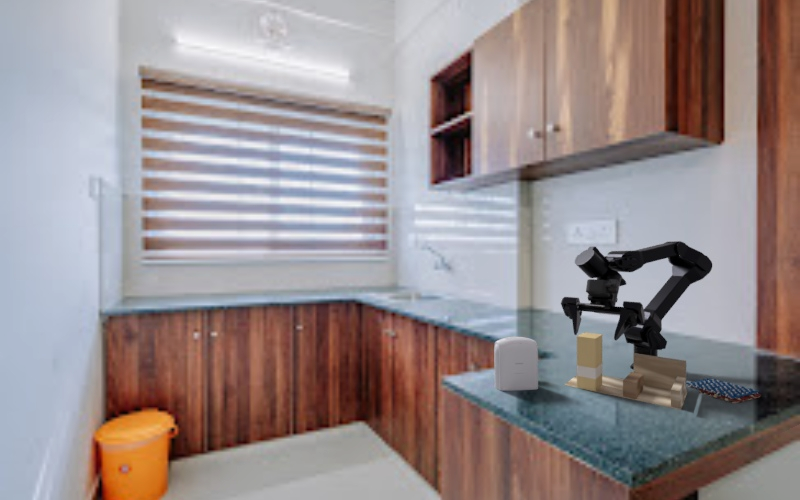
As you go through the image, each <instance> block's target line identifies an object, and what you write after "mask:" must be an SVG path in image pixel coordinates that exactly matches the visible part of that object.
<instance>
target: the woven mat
mask: <svg viewBox="0 0 800 500" xmlns="http://www.w3.org/2000/svg"><path fill="white" fill-rule="evenodd" d="M686 385H687V387H688V388H694V389H695V390H699V392H698V393H699V394H703V395H705V396H706V395H707V397H713V398H715V399H720V400H723V401H724V402H731V403H732V404H737V403H743V402H746V401H750V400H755V399H758V398H760V397H761V396H762V394H760V392H759V390H755V389H753V388H749V387H745V386H740V385H739V384H733V383H731V382H726V381H723V380H719V379H716V378H712V379H711V378H707V379H706V378H703V380H702V379H699V380H694V381H690V382H686Z"/></svg>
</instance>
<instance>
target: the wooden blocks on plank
mask: <svg viewBox="0 0 800 500" xmlns="http://www.w3.org/2000/svg"><path fill="white" fill-rule="evenodd" d="M633 363H634V368H633V371H630V372H629V374H628V375H627V376H626V377H625V378H619V377H614V376H607V375H604V374H602V386H601V387H600V388H598V389H597V390H596V391H594V392H596V393H600V394H605V395H610V396H615V397H619V398H623V399H629V400H633V401H638V402H642V403H647V404H653V405H656V406H661V407H666V408H671V409H675V410H681V411H682V408H683V406H684V403H685V400H686V397H687V395H688V390H687V384H686V383H687V360H684V359H677V358H671V357H663V356H658V357H657V356H650V355H643V354H637V353H635V354H634V353H633ZM563 386H568V387H573V388H575V389H576V388H577V374H576V375H575V376H574V377H572V378H571V379H569V380H568V381H567V382H566V383H564V384H563ZM577 389H578V388H577ZM579 389H581V388H579ZM581 390H582V389H581ZM584 390H585V391H587V390H586V389H584ZM589 391H591V390H589ZM591 392H592V391H591Z"/></svg>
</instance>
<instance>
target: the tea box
mask: <svg viewBox="0 0 800 500" xmlns="http://www.w3.org/2000/svg"><path fill="white" fill-rule="evenodd" d="M603 365H604V364H603V334H600V333H593V332H582V333H580V334H579V335H576V375H577V389H580V388H581V390H585V389H586V390H585V391H590V390H591V392H595V391H596V390H597V389H598V388H600V387H601V386H602V375H603V373H604V370H603V368H604V367H603Z"/></svg>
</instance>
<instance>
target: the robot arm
mask: <svg viewBox="0 0 800 500" xmlns="http://www.w3.org/2000/svg"><path fill="white" fill-rule="evenodd" d="M664 259H667V260H668V262H669V264H671V265H672V266H671V272H672V273H671V276H670V277H669V278H668V280H667V281H666V282H665V283H664V284H663V285H662V287H661V288H660V289H659V290H658V291H657V293H656V294H655V295H654V297H653V298H652V299H651V300H650V301H649V303H648V304H647V305H646V306H645V307H644V305H643V304H642V303H641V302H639V301H627V300H624V301H623V302H622V306H616V303H618V295H619V290H620V287H624V286H626V285H627V282H626V280H625V278H624V277H623V276H622V274H620V273H633V272H635V271H637V270H639V269H641V268H642V267H643V266H644V265H645V264H649V263H653V262H656V261H661V260H664ZM712 262H713V261H712V260H711V259H710V257H708V255H705V254H704V253H703V252H701V251H699V250H697V249H695V248H693V247H690V246H689V245H688V244H687V243H686V242H684V241H681V240H679V241H678V240H677V241H666V242H663V243H659V244H655V245H652V246H648V247H643V248H639V249H636V250H611V251H610V252H608V253H607V255H606V256H604V255H603V254H602V253H601V252H600V250H599V249H598V248H597V246H588V248H587V249H586V250H583V251H582V252H581V253H579V254H578V255H576V257H575V259H574V264H575V266H577V267H578V268H579V269H580V270H581V271H582V272H583V273H584V274H585V275H586V276H587V277H588V278H590V279H587V281H586V289H585V292H586V293H587V294H588V295H587V300H588V302H581V301H580V298H579V297H575V296H564V297H563V298H561V299H562V300H561V302H560V305H561V308H562V311H563V313H564V316H565V317H568V318H569V319H570V320H572V321H571V322H572V328H573V334H574V335H575V336H578V335H577V334H578V333H579V329H580V325H581V323H582V318H581V317H582V316H583V315H582V314H583V312H589V313H597V314H600V315H611V316H613V315H614V316H619V317H618V322H617V325H616V328H615V330H614V335H613V339H614V341H617V340H619V339H620V338H621V337H622V336H623V335H624V338H625V341H626V344H631V345H633V355H634V354H635V353H637V354H643V355H650V356H657V357H659V355H658V353H659V351H662V350H665V349H666V347H667V344H668V341H667V339H666V338H665V337H664V336H663V334H662V333H661V332H662V331H663V330H662V329H663V327H662V320H664V318H665V316H666V315H667V314H668V313H669V312H670V310H671V309H672V308H673V306H674V305H675V304H676V303H677V301H678V300H679V299H680V298H681V297H682V295H683V294H684V293H685V292H686V291H687V290H688V288H689V287H690V286H691V285H692V284H694V283H696V282H699V281H701V280H703V279H704V278H705V277H707V276H708V274H710V273H711V271H712V268H713V263H712ZM595 278H596V279H595ZM589 302H590V303H589ZM630 369H634V362H633V363H632V364H631V365H630Z"/></svg>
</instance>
